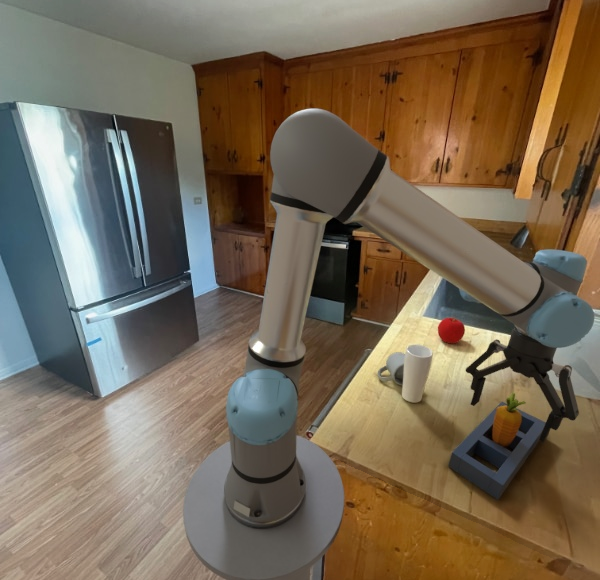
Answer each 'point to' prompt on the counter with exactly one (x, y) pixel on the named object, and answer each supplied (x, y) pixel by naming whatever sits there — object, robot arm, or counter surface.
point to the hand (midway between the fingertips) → (506, 419)
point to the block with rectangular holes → (495, 453)
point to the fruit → (451, 330)
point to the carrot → (507, 422)
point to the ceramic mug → (393, 368)
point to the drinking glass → (416, 372)
